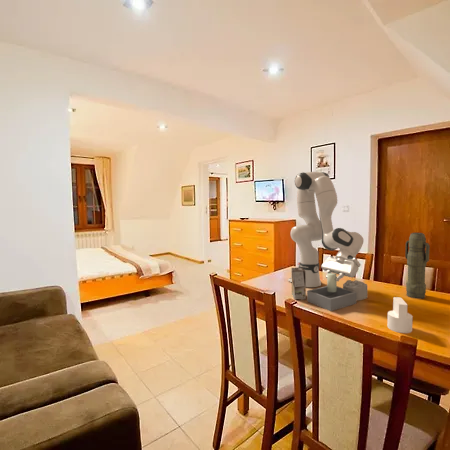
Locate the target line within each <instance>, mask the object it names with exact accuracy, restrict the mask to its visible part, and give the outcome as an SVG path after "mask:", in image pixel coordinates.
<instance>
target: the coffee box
mask: <svg viewBox="0 0 450 450" xmlns="http://www.w3.org/2000/svg"><path fill="white" fill-rule="evenodd" d="M298 267H299V266H298ZM298 267H291V273H290V274H292V283H291V296H292V295H293V296H292V297H293V299H294V300H295V299H301V300H307V299H306V298H307V292H306V290H307V289H306V288H307V287H306V275H305V270H304V269H303V268H302V267H301V268H300V267H299V268H298Z"/></svg>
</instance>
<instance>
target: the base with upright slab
mask: <svg viewBox="0 0 450 450" xmlns="http://www.w3.org/2000/svg"><path fill="white" fill-rule="evenodd" d="M392 300H393V302H392V310H388V311H387V322H386V323H387V328H388V329H389V330H390V331H392V332H396V333H400V334H411V333H412V332H413V317H414V316H413V315H412V314H411V313H409V312H408V304H407V302H406V301H405V300H404V299H403V298H402V297H398V296H396V297H395V296H394V297H393V299H392Z"/></svg>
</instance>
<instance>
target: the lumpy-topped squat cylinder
mask: <svg viewBox="0 0 450 450" xmlns="http://www.w3.org/2000/svg"><path fill="white" fill-rule="evenodd" d="M342 288H344V289H347V290H350V291H354V292H356V301H362V300H365V299H368V284H367V283H365V282H363V281H361V280H360V281H359V280H357V279H356V280H353V281H352V280H351V279H348V280H346V281H345V282H344V283H343V284H342Z"/></svg>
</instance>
